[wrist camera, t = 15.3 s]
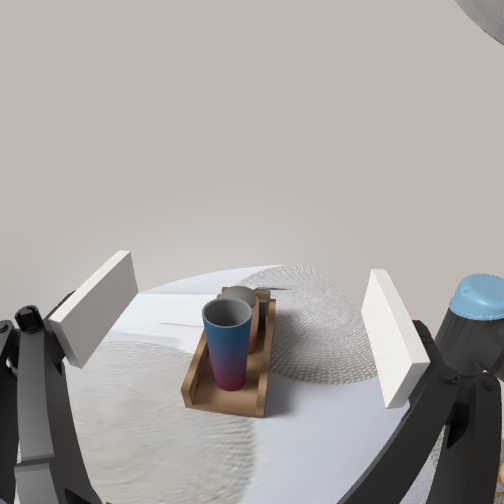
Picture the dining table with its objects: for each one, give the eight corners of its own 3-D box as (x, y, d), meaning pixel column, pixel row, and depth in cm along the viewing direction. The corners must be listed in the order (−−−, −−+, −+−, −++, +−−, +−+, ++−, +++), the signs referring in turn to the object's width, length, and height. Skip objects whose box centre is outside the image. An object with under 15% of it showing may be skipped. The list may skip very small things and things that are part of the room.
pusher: (265, 330, 56) (266, 295, 52) (220, 326, 57) (217, 291, 53) (265, 327, 57) (267, 292, 53) (221, 322, 58) (219, 288, 54)
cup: (256, 372, 46) (259, 303, 40) (241, 401, 41) (240, 333, 34) (221, 361, 49) (216, 292, 42) (203, 387, 43) (192, 318, 36)
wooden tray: (263, 418, 39) (265, 393, 36) (185, 407, 40) (178, 381, 37) (274, 317, 62) (276, 291, 59) (218, 312, 63) (217, 286, 60)
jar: (242, 326, 58) (242, 280, 53) (264, 345, 53) (267, 297, 48) (214, 340, 54) (210, 292, 49) (234, 361, 49) (233, 313, 44)
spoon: (228, 289, 73) (228, 283, 72) (305, 282, 76) (306, 277, 75) (229, 298, 69) (229, 292, 68) (310, 291, 72) (311, 285, 72)
